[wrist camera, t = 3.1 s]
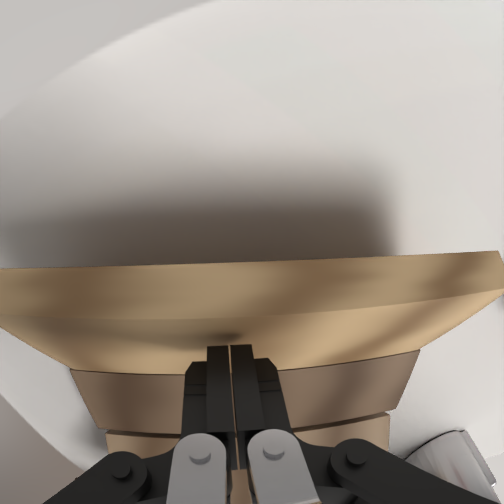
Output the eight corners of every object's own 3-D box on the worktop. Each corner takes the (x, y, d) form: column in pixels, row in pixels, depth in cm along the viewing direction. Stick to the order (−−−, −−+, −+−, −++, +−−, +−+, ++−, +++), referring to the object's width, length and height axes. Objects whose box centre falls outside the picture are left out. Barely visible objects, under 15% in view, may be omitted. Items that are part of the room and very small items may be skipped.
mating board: (407, 332, 20) (420, 350, 18) (386, 391, 22) (395, 408, 21) (79, 349, 18) (69, 370, 16) (103, 408, 20) (98, 428, 19)
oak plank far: (379, 409, 22) (389, 414, 20) (374, 496, 20) (382, 505, 19) (112, 426, 20) (105, 433, 19) (130, 515, 19) (125, 525, 17)
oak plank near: (498, 250, 11) (512, 286, 10) (411, 323, 19) (417, 349, 18) (-11, 268, 9) (-22, 311, 8) (76, 340, 17) (73, 369, 16)
